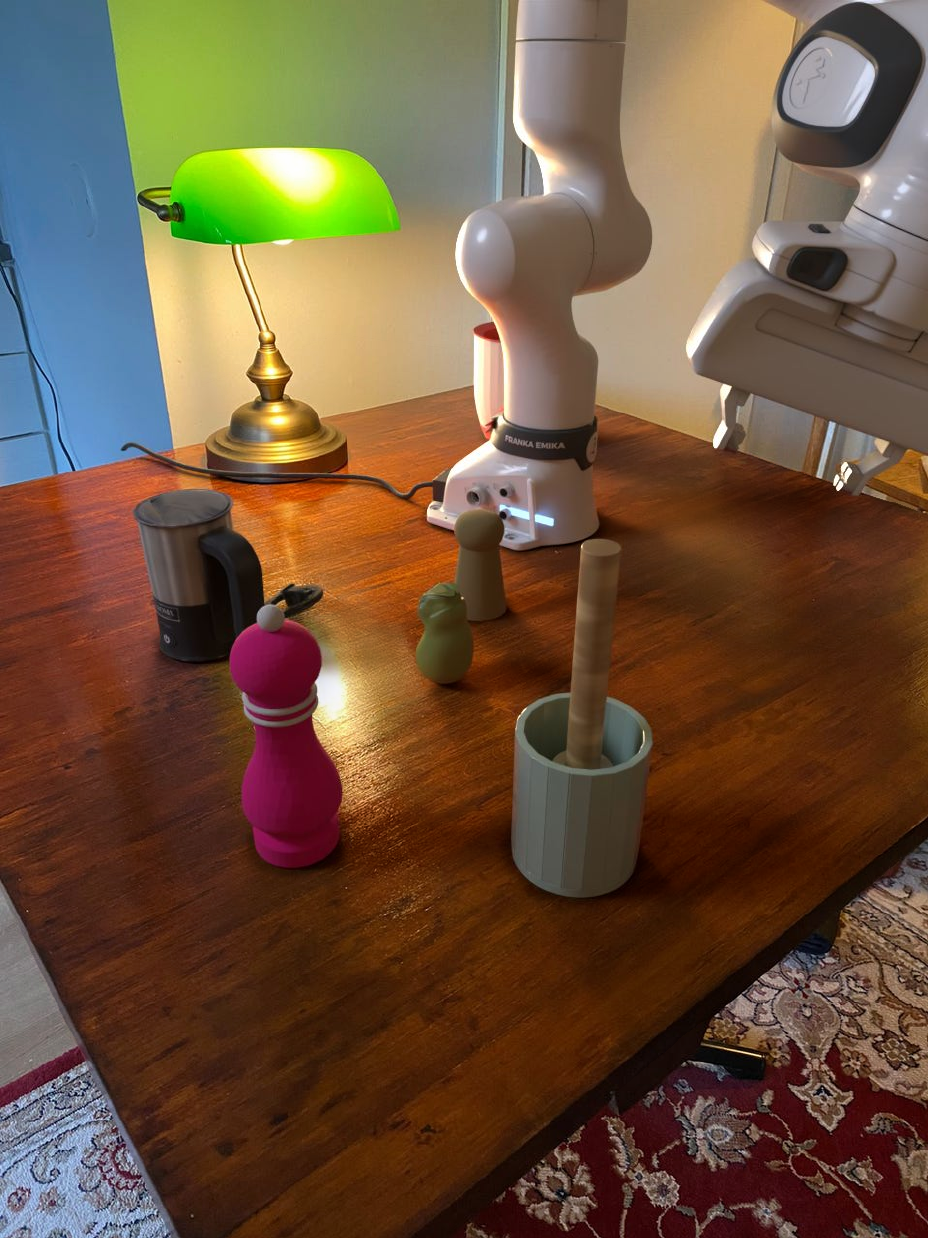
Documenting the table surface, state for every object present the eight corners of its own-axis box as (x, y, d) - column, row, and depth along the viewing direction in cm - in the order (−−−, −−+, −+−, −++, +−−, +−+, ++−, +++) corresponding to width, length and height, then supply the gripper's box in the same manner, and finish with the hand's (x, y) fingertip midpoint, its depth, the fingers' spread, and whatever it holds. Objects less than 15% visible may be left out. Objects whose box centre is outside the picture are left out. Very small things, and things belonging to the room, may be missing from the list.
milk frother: (138, 652, 91) (110, 516, 83) (229, 584, 103) (211, 460, 96) (261, 682, 86) (242, 540, 79) (340, 606, 99) (330, 478, 91)
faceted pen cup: (491, 871, 65) (493, 750, 60) (539, 794, 72) (545, 679, 67) (614, 915, 62) (628, 791, 56) (651, 830, 69) (668, 712, 63)
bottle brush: (537, 852, 66) (553, 554, 54) (558, 814, 69) (579, 526, 57) (594, 872, 64) (625, 568, 52) (614, 832, 68) (647, 539, 55)
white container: (593, 433, 149) (603, 307, 139) (525, 460, 138) (530, 325, 128) (521, 413, 158) (525, 293, 148) (452, 437, 148) (451, 309, 138)
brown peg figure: (513, 598, 100) (516, 506, 95) (496, 625, 95) (498, 529, 90) (461, 590, 102) (461, 499, 97) (443, 615, 97) (441, 521, 92)
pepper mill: (254, 808, 71) (220, 582, 61) (347, 803, 71) (328, 578, 61) (243, 877, 65) (202, 638, 55) (344, 871, 65) (323, 632, 55)
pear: (451, 701, 83) (451, 606, 78) (404, 684, 86) (401, 591, 81) (483, 672, 88) (484, 581, 83) (437, 657, 90) (435, 567, 85)
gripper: (1020, 319, 60) (902, 495, 68) (738, 214, 58) (649, 407, 66) (1063, 349, 55) (929, 536, 63) (755, 235, 53) (656, 442, 61)
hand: (784, 469), depth 65 cm, fingers open, 8 cm apart
